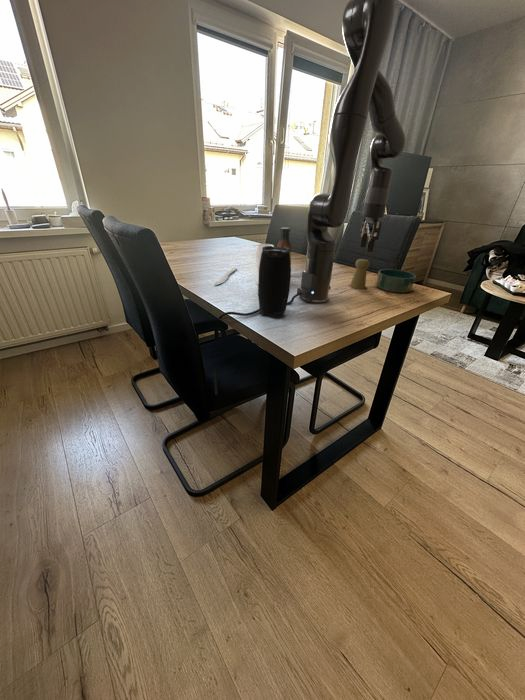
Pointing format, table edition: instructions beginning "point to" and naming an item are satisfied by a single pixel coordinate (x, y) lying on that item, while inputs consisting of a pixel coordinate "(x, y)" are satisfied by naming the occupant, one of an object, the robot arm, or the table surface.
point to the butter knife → (225, 276)
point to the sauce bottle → (285, 239)
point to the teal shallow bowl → (395, 280)
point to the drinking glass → (258, 256)
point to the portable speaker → (274, 280)
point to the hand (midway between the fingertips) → (365, 249)
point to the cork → (360, 274)
